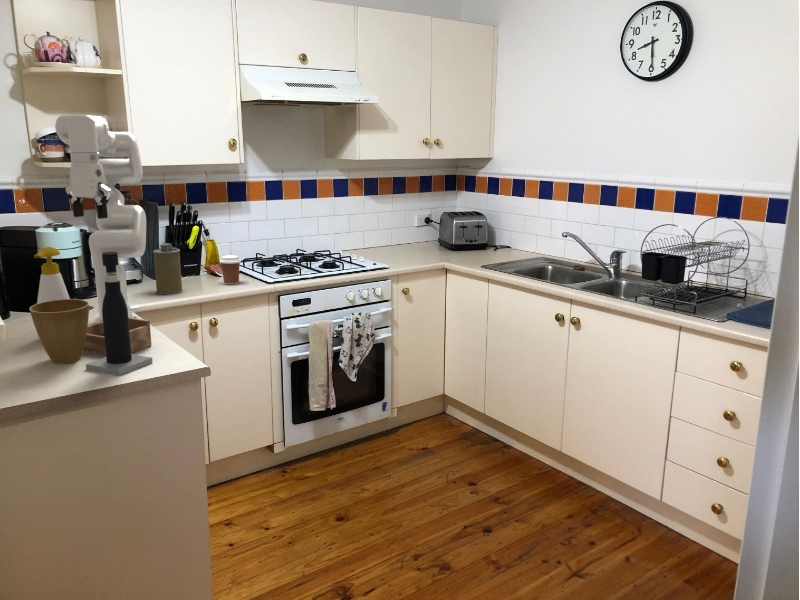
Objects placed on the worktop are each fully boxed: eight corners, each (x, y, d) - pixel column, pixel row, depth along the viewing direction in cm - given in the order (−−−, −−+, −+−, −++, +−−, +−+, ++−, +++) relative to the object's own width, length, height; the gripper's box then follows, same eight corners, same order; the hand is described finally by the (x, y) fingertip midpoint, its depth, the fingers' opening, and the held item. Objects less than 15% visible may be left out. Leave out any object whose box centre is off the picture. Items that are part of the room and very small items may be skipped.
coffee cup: (231, 286, 285) (229, 258, 283) (216, 283, 290) (214, 256, 287) (246, 282, 293) (245, 256, 290) (231, 280, 298) (230, 254, 295)
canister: (171, 295, 267) (168, 246, 263) (150, 293, 271) (146, 244, 266) (188, 290, 277) (185, 242, 273) (168, 288, 281) (164, 241, 276)
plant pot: (28, 359, 187) (22, 304, 183) (83, 348, 197) (78, 296, 193) (46, 372, 177) (39, 314, 173) (102, 360, 187) (97, 305, 183)
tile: (120, 356, 190) (120, 351, 189) (152, 362, 185) (152, 357, 185) (86, 369, 179) (85, 364, 179) (119, 375, 174) (118, 370, 174)
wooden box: (112, 339, 207) (110, 314, 205) (151, 345, 200) (149, 320, 199) (80, 349, 196) (77, 323, 194) (120, 356, 190) (118, 330, 188)
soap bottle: (26, 344, 201) (14, 249, 194) (45, 334, 211) (35, 244, 204) (67, 345, 200) (57, 250, 193) (85, 335, 210) (75, 245, 204)
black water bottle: (123, 364, 178) (113, 255, 171) (101, 363, 179) (91, 254, 173) (136, 357, 184) (127, 251, 178) (115, 356, 186) (105, 250, 179)
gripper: (117, 159, 193) (122, 217, 197) (74, 158, 200) (80, 214, 204) (96, 159, 186) (102, 220, 190) (52, 158, 193) (59, 217, 197)
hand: (90, 217), depth 197 cm, fingers open, 9 cm apart
